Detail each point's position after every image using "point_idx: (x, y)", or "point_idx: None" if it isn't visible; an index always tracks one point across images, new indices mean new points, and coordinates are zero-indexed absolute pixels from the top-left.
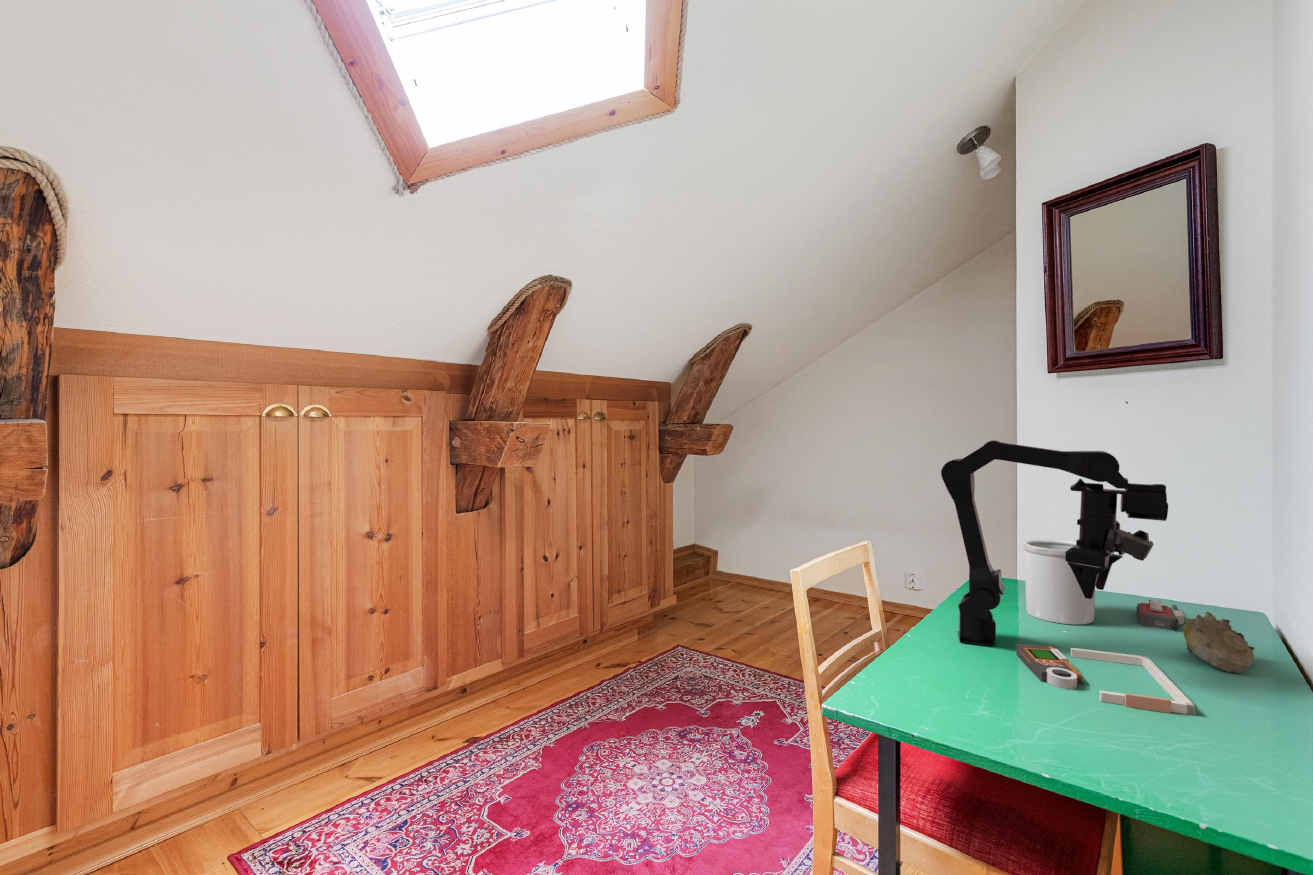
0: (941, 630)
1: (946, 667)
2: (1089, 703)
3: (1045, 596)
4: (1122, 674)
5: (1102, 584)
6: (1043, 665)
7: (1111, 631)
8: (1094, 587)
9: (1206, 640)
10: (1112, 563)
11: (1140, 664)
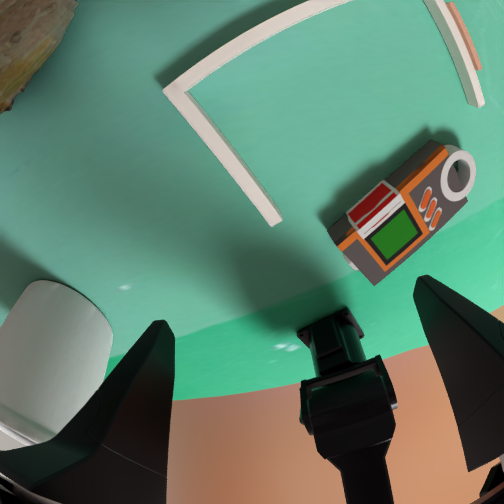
0: None
1: (463, 288)
2: (488, 115)
3: (97, 363)
4: (305, 94)
5: (160, 345)
6: (444, 211)
7: (41, 242)
8: (473, 308)
9: (42, 12)
10: (84, 459)
11: (190, 94)
